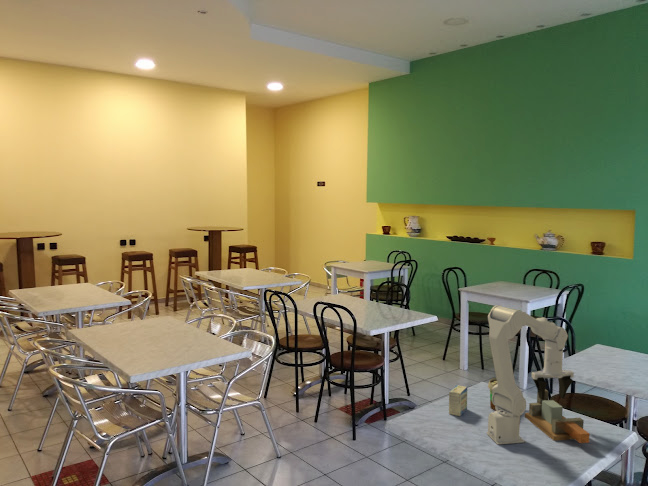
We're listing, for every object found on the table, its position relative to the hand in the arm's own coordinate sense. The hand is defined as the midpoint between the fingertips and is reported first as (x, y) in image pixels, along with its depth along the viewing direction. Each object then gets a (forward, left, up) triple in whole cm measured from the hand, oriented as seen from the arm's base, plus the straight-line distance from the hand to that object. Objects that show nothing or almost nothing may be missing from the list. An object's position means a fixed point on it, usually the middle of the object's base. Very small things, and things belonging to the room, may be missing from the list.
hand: (551, 397), depth 180 cm
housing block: (0, 0, -8) cm, 8 cm away
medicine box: (-28, +15, -10) cm, 33 cm away
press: (0, -2, -9) cm, 10 cm away
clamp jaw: (0, -13, -8) cm, 15 cm away
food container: (-12, +17, -10) cm, 23 cm away
